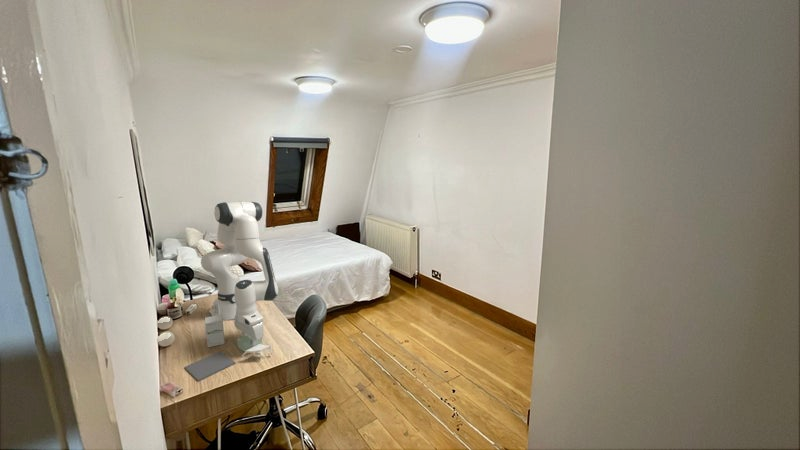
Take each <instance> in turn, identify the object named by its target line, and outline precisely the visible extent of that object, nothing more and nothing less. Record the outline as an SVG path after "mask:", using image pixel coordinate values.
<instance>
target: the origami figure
mask: <svg viewBox="0 0 800 450" xmlns="http://www.w3.org/2000/svg"><path fill="white" fill-rule="evenodd" d="M267 349H268V350H269V351H270V352H271V353H270V354H268V356H269V357H271V355H272V354H274V351H273V349H272V347H271V345H266V344H262V343H261V344H259V345H257V346H255V347H252V348H250V349H248V350H246V351H244V353H243V354H242V355H241V357H243V359H246V360H248V359H249V358H248V357H247V356H245V355H246V354H247V353H250V354H251V353H258V354H259V359H260V361H262V360H263V353H262V352H263V351H265V350H267Z"/></svg>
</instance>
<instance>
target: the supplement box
mask: <svg viewBox="0 0 800 450" xmlns="http://www.w3.org/2000/svg"><path fill="white" fill-rule="evenodd" d="M223 321H224V320H222V314H221V315H215V316H212V315H211V316H205V317H204V327H205V335H206V336H205V337H206V346H207V348H208V349H209V348H212V347H215V346H220V345H225V343H226V342H225V330H224V323H223Z"/></svg>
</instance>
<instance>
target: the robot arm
mask: <svg viewBox="0 0 800 450" xmlns="http://www.w3.org/2000/svg"><path fill="white" fill-rule="evenodd" d="M213 211H214V213H213V214H214V218H215V221H217V222H218V227H217V236H216V237H217V240H218V242H219V243H220V244H222V245H224V247H223V248H219V249H215V250H212V251H211V250H210V251H209V252H207V253H205V254H203V255H202V256H201V259H200V265H201V268H203V270H204V271H206V272H208V273H210V274H211V275H213V277H214V278H215V280H216V284H217V285H216V286H217V289H218V290H217V298H216V299H215V300H214V301H213V303H212V305H211V308H210V309H209V311H208V312H209V313H210V315H211V316H215V315H221V314H222V320H223V321H229V320H230V321H231V320H234V327H235V328H236V329H237V330H239V331H240V332H241V334H242V337H244V336H246V335H248V336H250V337H251V338H252V341H251V344H252V345H255V344H256V340H259V339H261V338H262V339H263V337H264V333H265V331H264V324H263V321H264V317H263V315H261V313H260V312H259V310H258V306H257V304H256V302H260V301H264V302H266V301H267V302H268V301H269V302H271V301H272V302H273V300H275V299H276V298H277V296H278V295H279V286H278V283H277V280H276V277H275V273H274V272H275V271H274V268H273V264H272V260H271V257H270V254H269V251H268V249H267V248H266V247H264V246H263V245H262V241H261V240H260V231H259V230H260V229H259V225H258V222H259V221H260V220H261V219H262V217H263V207H262V206H261V204H260V203H258V202H256V201H243V200H241V201H240V200H239V201H234V202H233V201H231V202H230V201H229V202H226V201H224V202H223V201H222V202H220V203H217V204H216V205H215V207H214V210H213ZM249 259H252V260H255V261H257V262H258V263H260V265H261V267H262V271H263V275H264V279H265V280H251V279H242V280H240V279H241V278H240V276H239V275H238V274H237V273H235V272H231V271H230V268H231V267H234V266H238V265H240V264H242V263H244V262H246V261H247V260H249Z"/></svg>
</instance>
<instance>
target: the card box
mask: <svg viewBox="0 0 800 450" xmlns="http://www.w3.org/2000/svg"><path fill="white" fill-rule="evenodd" d="M251 341H252V338H251V337H250V336H248V335H246V336H244V337H243V336H242V337H239V338H237V339H236V342H237V348H239V349H240V350H242V351H243V352H245V351H246V350H248V349H250V348H252V347H255V346H257V345H259V344H261V345H262V344H263V338H261V339H259V340H256V344H255V345H252V344H251Z"/></svg>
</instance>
